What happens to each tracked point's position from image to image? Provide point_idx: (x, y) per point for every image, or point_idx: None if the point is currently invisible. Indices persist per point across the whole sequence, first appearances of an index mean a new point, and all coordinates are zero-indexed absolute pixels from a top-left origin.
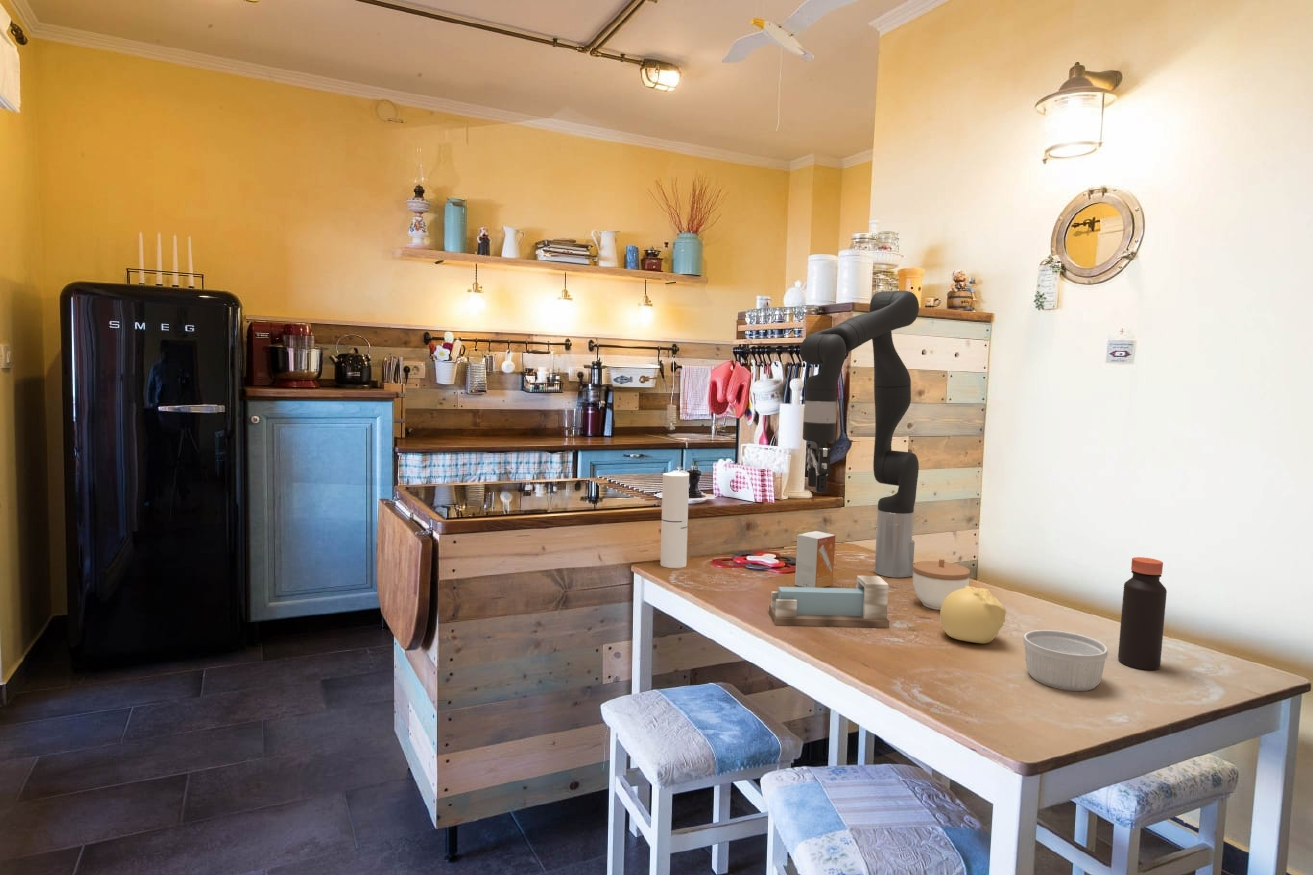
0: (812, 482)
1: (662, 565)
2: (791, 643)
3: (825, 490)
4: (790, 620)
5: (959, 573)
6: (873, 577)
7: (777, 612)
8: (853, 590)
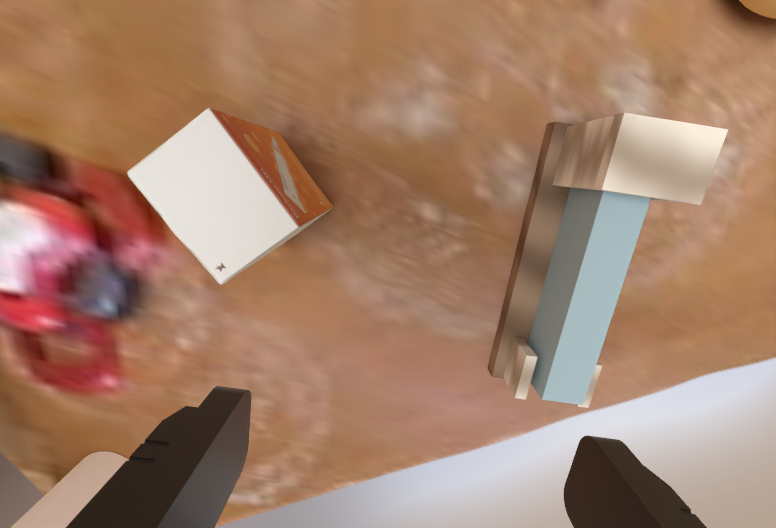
0: (232, 462)
1: None
2: (674, 382)
3: (624, 447)
4: None
5: None
6: (636, 142)
7: None
8: (616, 215)
